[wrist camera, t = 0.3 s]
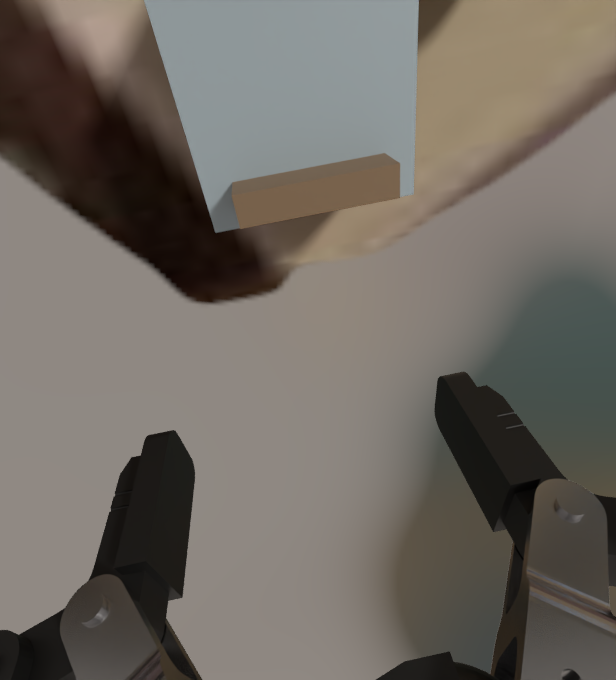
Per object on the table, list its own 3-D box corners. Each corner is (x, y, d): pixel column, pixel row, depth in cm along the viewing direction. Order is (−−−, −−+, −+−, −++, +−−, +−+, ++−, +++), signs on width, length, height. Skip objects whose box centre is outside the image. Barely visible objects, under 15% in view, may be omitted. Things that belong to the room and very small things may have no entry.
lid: (140, -23, 19) (119, -40, 16) (413, -72, 19) (447, -98, 16) (216, 227, 27) (212, 250, 24) (408, 190, 27) (430, 208, 24)
